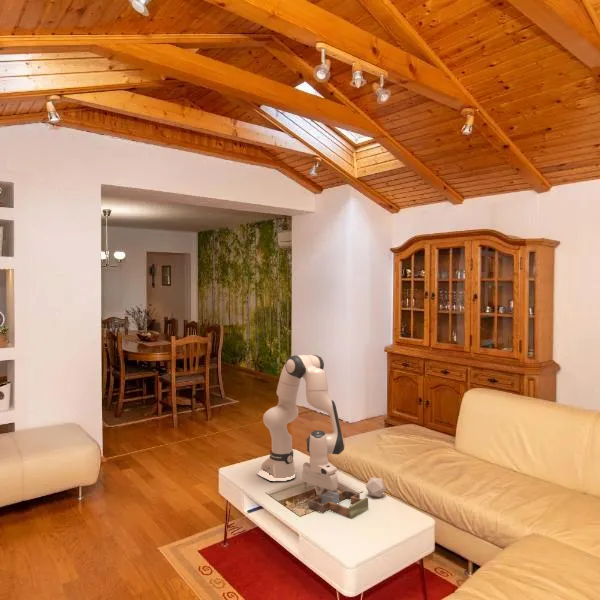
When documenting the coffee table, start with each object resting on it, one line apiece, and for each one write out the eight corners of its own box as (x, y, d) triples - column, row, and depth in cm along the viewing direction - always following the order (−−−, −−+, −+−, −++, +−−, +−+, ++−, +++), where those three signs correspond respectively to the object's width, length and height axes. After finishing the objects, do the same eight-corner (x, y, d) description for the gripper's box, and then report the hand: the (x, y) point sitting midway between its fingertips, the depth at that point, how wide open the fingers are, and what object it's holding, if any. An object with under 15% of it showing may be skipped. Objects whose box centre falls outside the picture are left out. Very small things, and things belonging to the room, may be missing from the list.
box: (304, 506, 222) (304, 495, 222) (333, 492, 237) (332, 482, 237) (345, 522, 205) (345, 510, 205) (373, 506, 220) (373, 495, 220)
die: (374, 502, 226) (386, 484, 226) (360, 489, 231) (372, 472, 231) (379, 502, 233) (391, 485, 234) (365, 489, 238) (376, 473, 238)
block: (321, 504, 224) (321, 494, 224) (328, 500, 229) (328, 490, 229) (332, 507, 220) (332, 497, 220) (339, 503, 225) (339, 493, 225)
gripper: (298, 463, 234) (299, 491, 234) (330, 472, 220) (331, 502, 220) (307, 459, 238) (308, 487, 238) (339, 468, 224) (340, 498, 224)
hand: (319, 495), depth 229 cm, fingers closed
